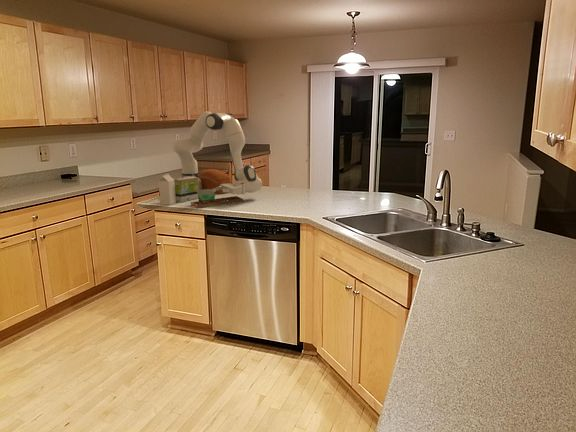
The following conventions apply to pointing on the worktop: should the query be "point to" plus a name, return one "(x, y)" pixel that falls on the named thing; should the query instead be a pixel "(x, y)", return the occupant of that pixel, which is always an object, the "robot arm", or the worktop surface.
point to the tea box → (186, 188)
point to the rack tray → (218, 202)
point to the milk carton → (167, 190)
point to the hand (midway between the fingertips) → (219, 189)
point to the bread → (213, 179)
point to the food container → (206, 196)
